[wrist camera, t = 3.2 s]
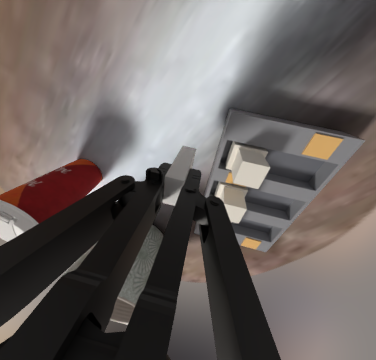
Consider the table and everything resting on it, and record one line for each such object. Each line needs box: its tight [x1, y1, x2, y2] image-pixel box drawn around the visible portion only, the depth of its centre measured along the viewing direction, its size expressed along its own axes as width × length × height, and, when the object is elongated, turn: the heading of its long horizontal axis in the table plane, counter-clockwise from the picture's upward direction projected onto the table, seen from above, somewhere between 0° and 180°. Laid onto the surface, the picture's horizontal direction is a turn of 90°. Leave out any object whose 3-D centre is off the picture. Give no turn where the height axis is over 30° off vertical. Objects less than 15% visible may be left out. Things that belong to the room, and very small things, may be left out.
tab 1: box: [214, 181, 248, 224], centre depth 21 cm, size 3×4×6 cm
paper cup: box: [0, 159, 102, 242], centre depth 23 cm, size 8×8×14 cm
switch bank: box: [194, 108, 365, 252], centre depth 23 cm, size 22×14×3 cm, turn 170°
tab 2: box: [225, 141, 271, 189], centre depth 18 cm, size 3×4×6 cm
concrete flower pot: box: [64, 225, 163, 324], centre depth 31 cm, size 17×17×15 cm
